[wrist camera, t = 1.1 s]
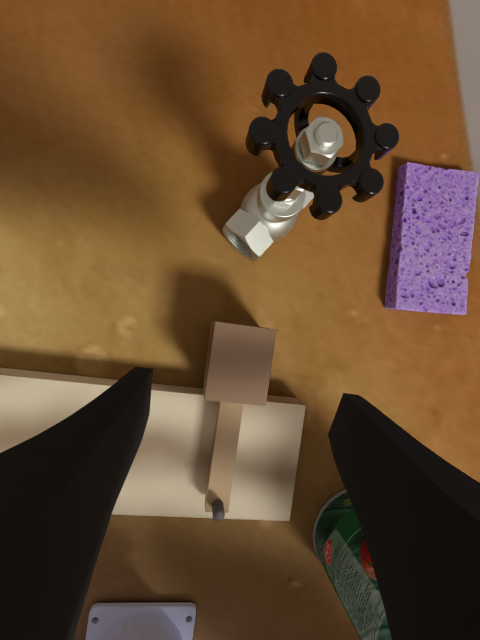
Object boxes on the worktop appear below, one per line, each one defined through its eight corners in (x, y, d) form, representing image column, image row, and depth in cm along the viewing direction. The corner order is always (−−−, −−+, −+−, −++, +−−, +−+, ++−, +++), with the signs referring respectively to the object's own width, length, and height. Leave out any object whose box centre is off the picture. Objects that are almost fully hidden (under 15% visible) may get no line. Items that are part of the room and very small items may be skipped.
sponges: (380, 308, 26) (394, 308, 25) (393, 167, 26) (408, 156, 24) (449, 316, 27) (468, 316, 26) (462, 180, 27) (481, 170, 26)
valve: (204, 221, 23) (214, 127, 12) (259, 163, 24) (323, 16, 12) (265, 279, 24) (332, 246, 12) (316, 221, 25) (428, 137, 13)
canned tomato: (327, 589, 26) (424, 793, 15) (300, 507, 25) (381, 655, 14) (406, 551, 27) (551, 715, 16) (382, 471, 26) (516, 584, 15)
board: (282, 504, 25) (289, 521, 23) (-71, 488, 21) (-99, 506, 19) (296, 398, 25) (305, 405, 23) (-54, 361, 21) (-80, 367, 19)
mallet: (237, 484, 24) (248, 527, 19) (188, 481, 24) (186, 525, 19) (259, 326, 24) (276, 329, 19) (211, 320, 24) (215, 321, 19)
